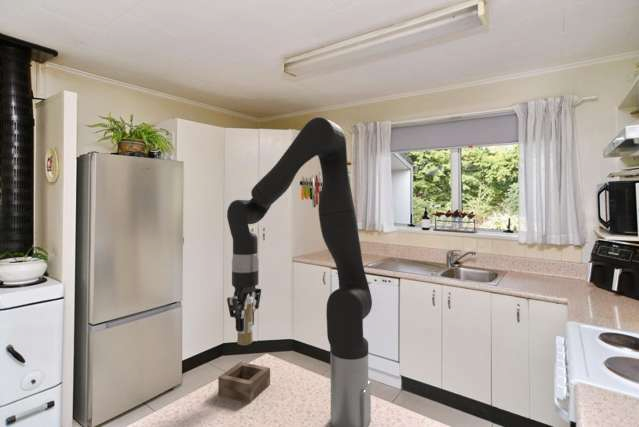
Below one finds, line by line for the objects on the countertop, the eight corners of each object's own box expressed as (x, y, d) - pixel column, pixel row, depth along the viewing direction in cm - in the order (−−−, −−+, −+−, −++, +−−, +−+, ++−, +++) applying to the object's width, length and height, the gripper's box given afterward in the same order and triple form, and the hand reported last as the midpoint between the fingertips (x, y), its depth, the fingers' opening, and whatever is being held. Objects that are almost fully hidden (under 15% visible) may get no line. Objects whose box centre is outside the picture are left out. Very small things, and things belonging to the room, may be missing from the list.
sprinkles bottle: (255, 343, 97) (255, 296, 97) (240, 347, 94) (240, 299, 94) (249, 338, 100) (249, 293, 100) (234, 341, 98) (234, 295, 98)
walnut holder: (270, 384, 100) (270, 367, 100) (249, 403, 90) (249, 384, 90) (240, 378, 104) (240, 361, 104) (218, 395, 94) (218, 377, 94)
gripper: (241, 274, 89) (241, 338, 89) (269, 266, 102) (269, 322, 102) (218, 272, 92) (218, 334, 92) (248, 264, 105) (248, 319, 105)
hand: (245, 327), depth 97 cm, fingers closed on sprinkles bottle, 4 cm apart
